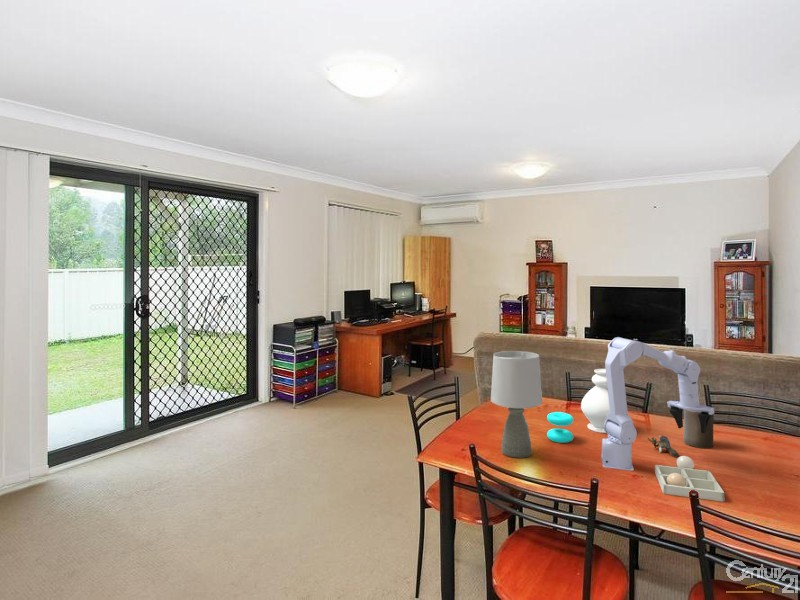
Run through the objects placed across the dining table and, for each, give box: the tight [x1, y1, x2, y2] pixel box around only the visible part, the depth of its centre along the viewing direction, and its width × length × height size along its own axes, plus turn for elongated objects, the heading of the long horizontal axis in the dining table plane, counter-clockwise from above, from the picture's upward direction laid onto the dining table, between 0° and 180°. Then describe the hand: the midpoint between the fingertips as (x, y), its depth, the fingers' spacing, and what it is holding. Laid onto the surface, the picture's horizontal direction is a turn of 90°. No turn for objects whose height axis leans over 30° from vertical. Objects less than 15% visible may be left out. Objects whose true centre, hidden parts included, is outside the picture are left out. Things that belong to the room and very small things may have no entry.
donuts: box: [546, 411, 574, 444], centre depth 184 cm, size 10×10×10 cm
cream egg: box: [676, 455, 695, 469], centre depth 154 cm, size 5×5×5 cm
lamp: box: [490, 350, 543, 459], centre depth 171 cm, size 19×19×37 cm
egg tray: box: [654, 464, 725, 503], centre depth 142 cm, size 15×15×3 cm
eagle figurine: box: [647, 435, 679, 458], centre depth 170 cm, size 8×7×9 cm
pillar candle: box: [683, 409, 714, 449], centre depth 177 cm, size 10×10×15 cm
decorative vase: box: [580, 368, 610, 434], centre depth 196 cm, size 18×18×25 cm
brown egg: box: [667, 473, 686, 487], centre depth 140 cm, size 5×5×5 cm
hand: (692, 429), depth 163 cm, fingers open, 7 cm apart
